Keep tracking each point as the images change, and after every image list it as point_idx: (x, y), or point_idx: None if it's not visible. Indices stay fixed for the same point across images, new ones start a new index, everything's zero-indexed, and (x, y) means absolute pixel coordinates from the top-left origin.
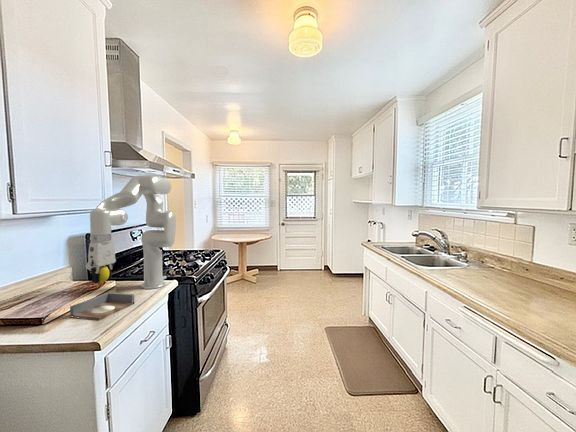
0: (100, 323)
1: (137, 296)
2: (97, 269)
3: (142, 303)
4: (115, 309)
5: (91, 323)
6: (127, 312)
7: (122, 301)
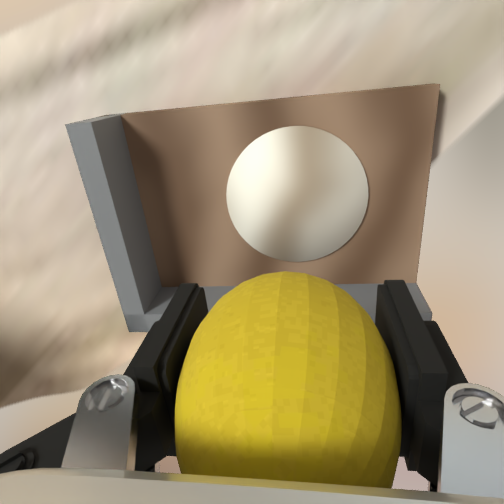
0: (495, 17)
1: (9, 210)
2: (492, 462)
3: (74, 58)
4: (270, 114)
5: (497, 88)
6: (256, 6)
7: (138, 195)
